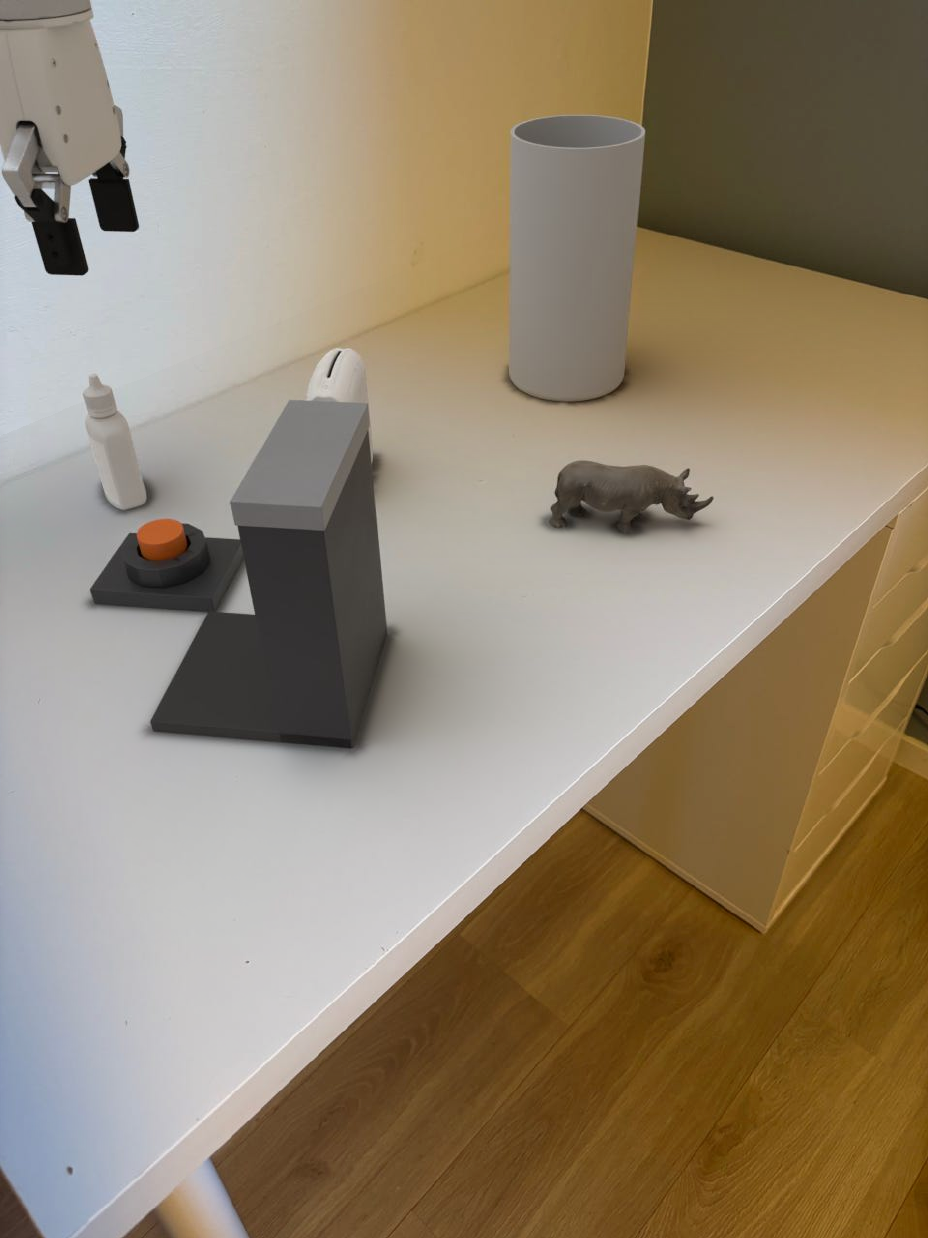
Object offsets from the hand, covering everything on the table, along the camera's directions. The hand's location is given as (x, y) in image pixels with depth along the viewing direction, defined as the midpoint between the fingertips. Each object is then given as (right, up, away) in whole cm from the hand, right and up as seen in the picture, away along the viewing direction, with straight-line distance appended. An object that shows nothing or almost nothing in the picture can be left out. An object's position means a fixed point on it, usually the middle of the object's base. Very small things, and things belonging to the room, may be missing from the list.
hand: (95, 250), depth 78 cm
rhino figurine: (+43, -21, +9) cm, 49 cm away
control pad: (+5, -26, +4) cm, 26 cm away
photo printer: (+18, -17, +15) cm, 29 cm away
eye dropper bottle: (-2, -18, +14) cm, 23 cm away
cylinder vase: (+40, -3, +31) cm, 51 cm away
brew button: (+5, -23, +2) cm, 24 cm away
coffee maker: (+15, -33, -6) cm, 37 cm away
